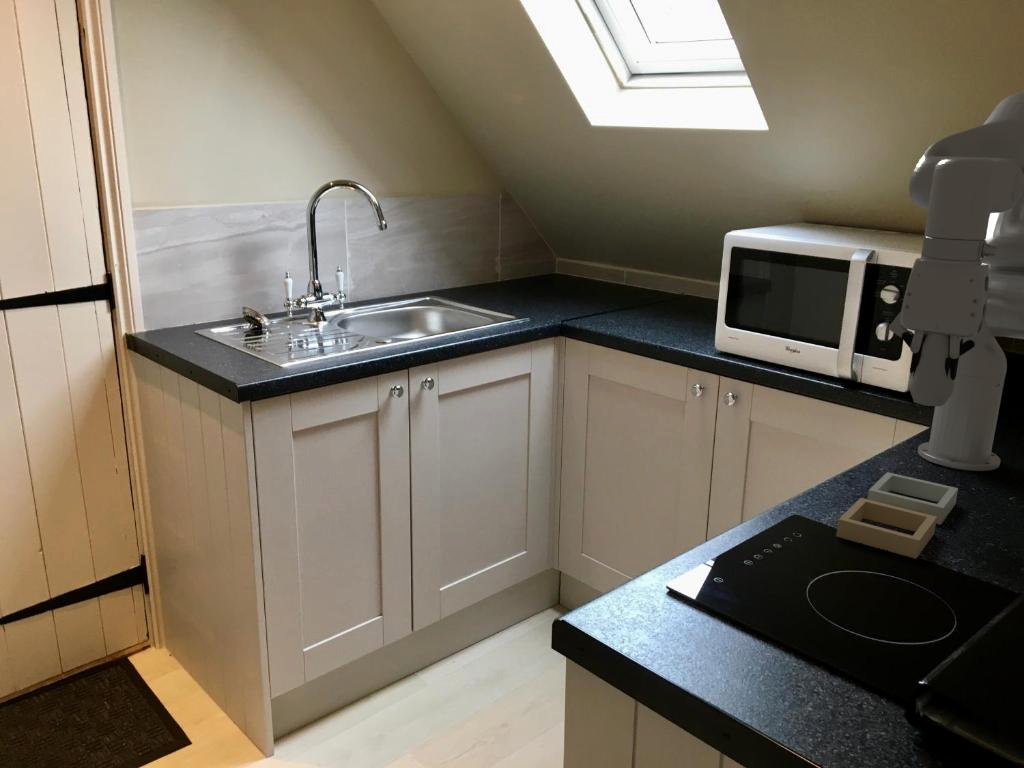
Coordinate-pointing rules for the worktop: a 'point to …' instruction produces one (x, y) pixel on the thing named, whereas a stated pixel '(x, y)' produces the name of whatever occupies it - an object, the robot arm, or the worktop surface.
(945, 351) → the salt shaker
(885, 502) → the sockets
